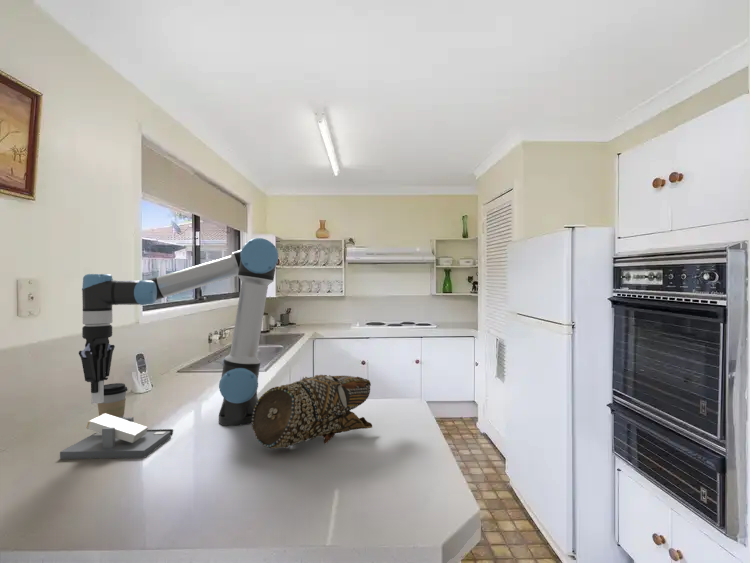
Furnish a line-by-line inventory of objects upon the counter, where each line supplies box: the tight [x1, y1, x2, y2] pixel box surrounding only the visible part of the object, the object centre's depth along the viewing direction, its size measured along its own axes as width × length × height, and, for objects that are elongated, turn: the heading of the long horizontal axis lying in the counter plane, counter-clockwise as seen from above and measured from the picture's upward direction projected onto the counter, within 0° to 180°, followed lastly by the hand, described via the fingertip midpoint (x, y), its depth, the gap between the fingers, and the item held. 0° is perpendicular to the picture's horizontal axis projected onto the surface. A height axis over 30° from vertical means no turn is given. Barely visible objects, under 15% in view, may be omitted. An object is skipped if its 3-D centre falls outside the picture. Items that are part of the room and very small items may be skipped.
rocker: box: [86, 413, 149, 443], centre depth 123 cm, size 14×7×2 cm, turn 90°
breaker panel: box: [59, 416, 172, 460], centre depth 123 cm, size 24×15×8 cm, turn 90°
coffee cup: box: [97, 382, 129, 418], centre depth 139 cm, size 9×9×15 cm
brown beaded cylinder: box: [251, 374, 373, 449], centre depth 128 cm, size 24×22×35 cm
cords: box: [147, 428, 174, 436], centre depth 134 cm, size 17×3×1 cm, turn 90°
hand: (97, 402), depth 123 cm, fingers closed
